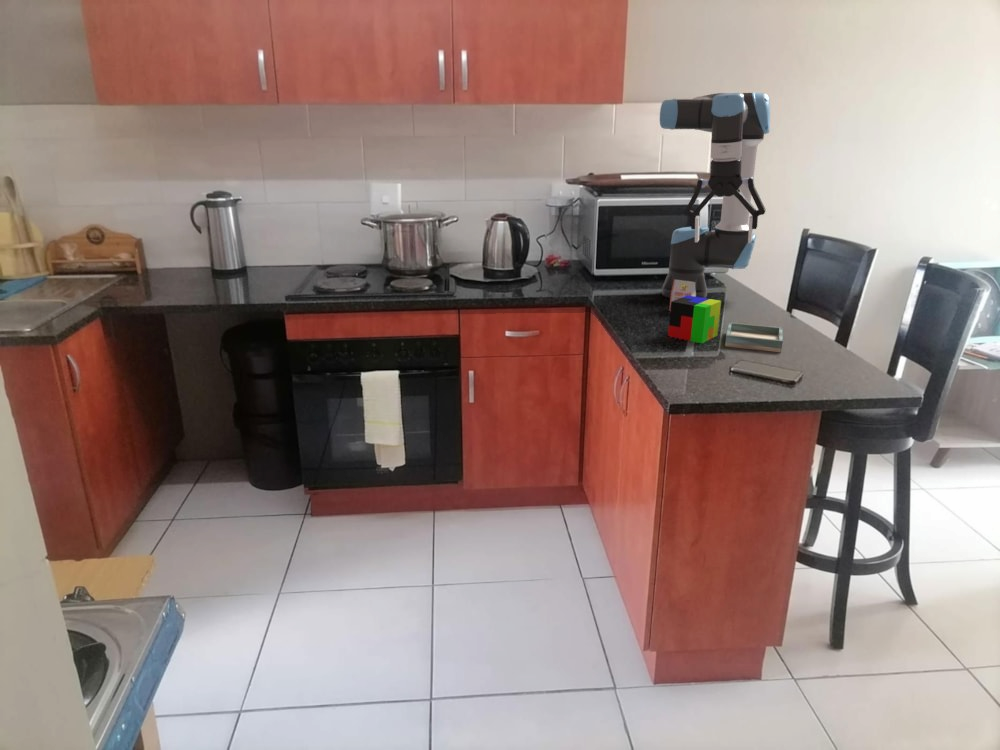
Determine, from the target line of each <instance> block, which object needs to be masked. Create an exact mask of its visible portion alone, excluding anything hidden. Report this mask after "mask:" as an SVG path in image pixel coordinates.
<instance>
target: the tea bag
mask: <svg viewBox="0 0 1000 750" xmlns="http://www.w3.org/2000/svg"><path fill="white" fill-rule="evenodd" d="M687 295H688V296H695V297H696V289H695V282H690V281H682V280H674V282H673V287H672V290H671V296H670V298H669V310H668V312H669V311H670V310H671V302H672V301H674V300H677V299H679V298H682V297H684V296H687Z"/></svg>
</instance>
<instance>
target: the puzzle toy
mask: <svg viewBox="0 0 1000 750" xmlns="http://www.w3.org/2000/svg"><path fill="white" fill-rule="evenodd" d="M721 305H722V300H719V299H718V300H717V299H712V298H707V297H706V298H701V297H695V296H688V295H687V296H684V297H682V298H679V299H677V300H674V301H672V302H671V310H670V312H669V320H668V321H669V322H668V323H669V324H668V331H667V332H668V333H667V337H668V336H670V337H669V338H672V337H675V338H674V339H677V338H679V339H678V340H682V339H684V340H683V341H687V340H688V342H693V343H697V344H704V343H705V342H708V341H710V340H712V339H714V338H715V337H717V336H718V334H719V333H718V331H719V324H720V323H719V322H720V316H721V315H720V314H721V307H722V306H721Z"/></svg>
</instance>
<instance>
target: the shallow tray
mask: <svg viewBox="0 0 1000 750" xmlns="http://www.w3.org/2000/svg"><path fill="white" fill-rule="evenodd" d="M783 339H784V338H783V327H782V326H769V325H759V324H750V323H749V324H748V323H739V322H728V327H727V330H726V334H725V342H724V347H726V348H738V349H747V350H757V351H765V352H766V351H767V352H775V353H776V352H777V353H782V347H783V342H784V341H783Z"/></svg>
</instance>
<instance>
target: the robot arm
mask: <svg viewBox="0 0 1000 750" xmlns="http://www.w3.org/2000/svg"><path fill="white" fill-rule="evenodd" d="M770 107H771V104H770V98H769V95H768V94H767V93H763V92H762V93H761V92H727V93H725V92H717V93H710V94H707V95H701V96H696V97H694V98H692V99H690V98H688V99H687V98H686V99H685V98H681V99H679V98H672V99H665V100H663V101H662V102H661V105H660V109H659V125H660V127H661V128H662V129H665V130H695V131H702V132H707V133H711V139H710V140H711V143H710V158H711V159H712V160H711V161H710V165H709V166H710V169H709V170H710V171H709V173H710V174H709V179H704V178H702V177H700V178H698V180H697V181H696V189H695V190H694V193H693V194H692V196H691V198H690V200H689V202H688V204H687V206H686V208H685V209H684V212H683V214H684V215H685V216H688V217H690V226H686V227H685V226H684V227H680V228H676V229H675V230H673V232H672V234H671V241H670V253H669V264H668V265H669V266H668V273H667V275H666V276H665V277H666V278H665V280H664V283H663V285H662V287H661V295H662V296H663V297H665V298H669V299H670V296H671V290H672V287H673V282H674V280H682V281H690V282H695V289H696V297H701V298H707V296H708V287H707V283H706V279H705V274H704V273H705V268H706V267H708V268H721V269H722V268H723V269H731V270H734V269H735V270H743V269H747V267H748V266H749V264H750V261H751V257H752V254H753V250H754V247H755V242H756V238H757V234H756V233H753V231H754V230H757V227H758V220H759V216H761V215H762V216H763V215H765V214H766V209H767V208H766V207H765V205H764V203H763V201H762V198H761V197H760V195H759V193H758V191H757V189H756V187H755V179H754V177H755V169H756V168H755V167H756V161H757V154H758V153H757V152H758V146H759V144H761V143H762V141H763V140H764V137H765V135H767V134H769V133H770V129H771V108H770ZM707 185H708V186H709V188H710V189H711V191H710V192H709V193H708V194H707V195H706V197H705V198H703V200H702V201H701V202H700V203H699V205H698V206H696V208H694V210H692V209H693V207H694V205H695V203H696V201H697V199H698V197H699V195H700V194H701V192H702V189H705V187H706V186H707ZM714 196H717V197H720V198H721V197H722V206H721V215H720V222H719V223H717V224H716V225H715V226H714V231H712V230H711V231H710V228H709V227H708V226H707V225H704V226H703V225H700V218H701V217H700V215H698V214H699V213H700V212H701V211H702V210H703V208H705V206H706V205H707V204H708V203H709V202H710V201H711V199H712V198H713V197H714ZM752 200H753V201H754V203H755V205H756V207H757V209H756V208H755V206H754V205H753V204H752Z"/></svg>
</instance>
